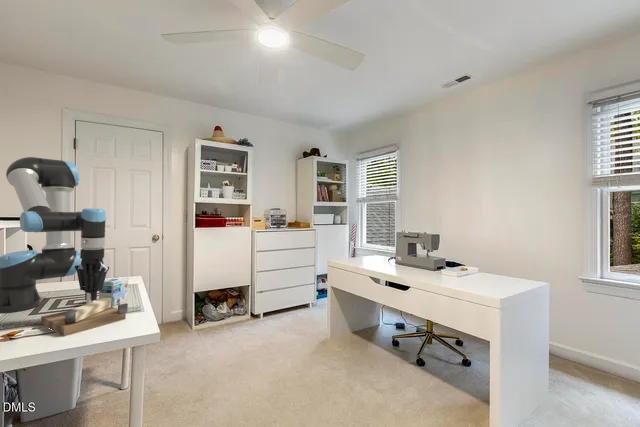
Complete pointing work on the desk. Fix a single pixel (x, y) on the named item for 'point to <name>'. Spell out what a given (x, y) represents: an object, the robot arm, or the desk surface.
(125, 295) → the light bulb box
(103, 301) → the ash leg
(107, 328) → the desk surface
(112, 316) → the walnut seat
